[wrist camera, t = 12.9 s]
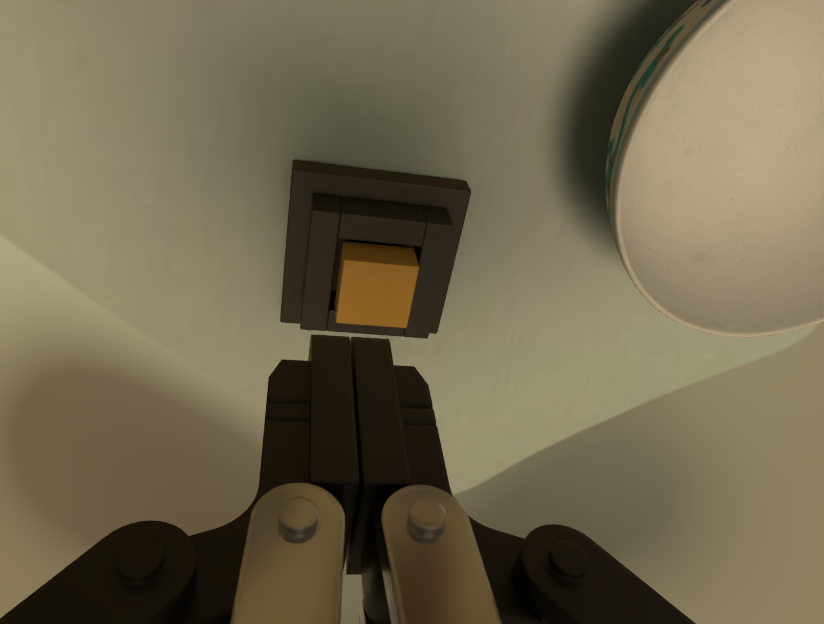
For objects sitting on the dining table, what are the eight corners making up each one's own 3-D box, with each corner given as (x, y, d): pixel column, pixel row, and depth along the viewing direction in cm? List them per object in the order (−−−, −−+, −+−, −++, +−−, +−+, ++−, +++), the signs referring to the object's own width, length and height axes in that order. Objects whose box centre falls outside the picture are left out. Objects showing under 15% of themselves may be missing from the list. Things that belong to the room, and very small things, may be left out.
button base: (292, 159, 28) (290, 186, 26) (466, 180, 30) (480, 208, 27) (281, 309, 33) (278, 344, 30) (433, 321, 34) (442, 355, 32)
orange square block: (342, 240, 28) (344, 259, 26) (414, 247, 29) (419, 267, 27) (334, 301, 30) (335, 323, 28) (402, 307, 30) (406, 328, 29)
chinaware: (887, -158, 24) (1089, -170, 18) (870, 183, 33) (1003, 258, 26) (512, 6, 26) (576, 48, 19) (588, 291, 34) (649, 385, 28)
